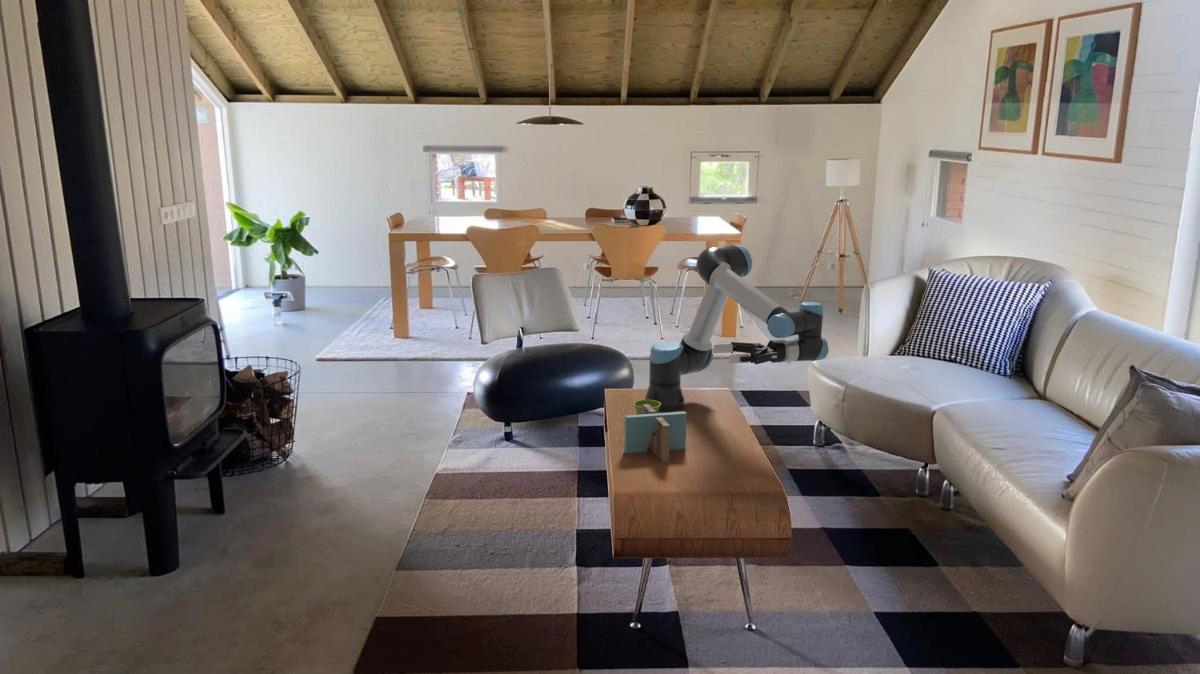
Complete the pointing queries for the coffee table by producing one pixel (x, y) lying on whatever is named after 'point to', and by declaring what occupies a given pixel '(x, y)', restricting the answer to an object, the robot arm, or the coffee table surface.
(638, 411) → the plant pot
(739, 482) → the coffee table surface
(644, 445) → the slotted plate
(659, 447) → the walnut board
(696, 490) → the coffee table surface
